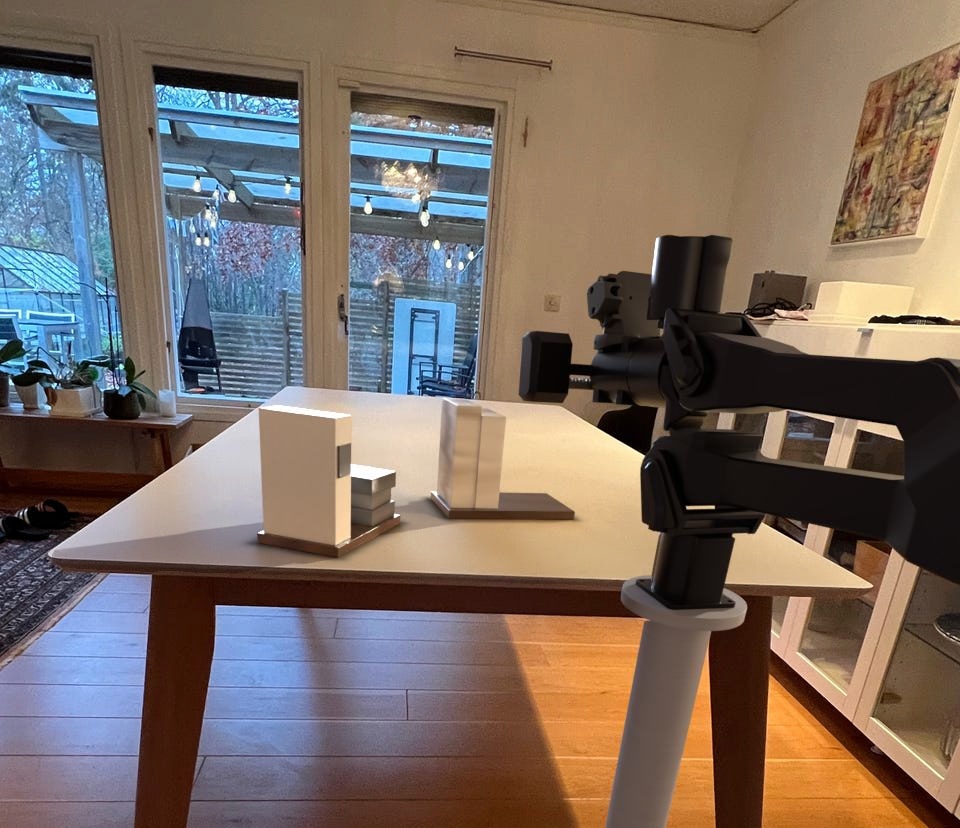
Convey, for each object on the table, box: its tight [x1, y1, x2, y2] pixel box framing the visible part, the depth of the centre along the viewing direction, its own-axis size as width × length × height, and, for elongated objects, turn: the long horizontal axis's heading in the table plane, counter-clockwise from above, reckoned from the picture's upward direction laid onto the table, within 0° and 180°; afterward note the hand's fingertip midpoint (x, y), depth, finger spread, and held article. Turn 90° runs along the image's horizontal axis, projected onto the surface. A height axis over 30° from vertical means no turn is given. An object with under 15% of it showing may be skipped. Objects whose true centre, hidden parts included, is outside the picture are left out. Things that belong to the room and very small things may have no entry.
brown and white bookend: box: [430, 397, 576, 520], centre depth 91 cm, size 10×16×13 cm, turn 106°
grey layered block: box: [256, 463, 401, 558], centre depth 76 cm, size 9×15×6 cm, turn 162°
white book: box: [258, 404, 352, 546], centre depth 70 cm, size 8×3×12 cm, turn 72°
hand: (568, 371), depth 78 cm, fingers open, 9 cm apart
